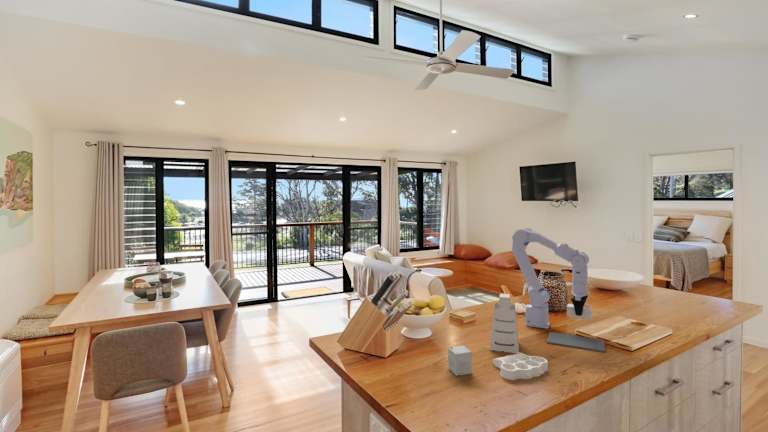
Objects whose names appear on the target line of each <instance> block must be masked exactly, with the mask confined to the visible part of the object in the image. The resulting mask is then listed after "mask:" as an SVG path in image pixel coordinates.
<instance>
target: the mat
mask: <svg viewBox="0 0 768 432" xmlns="http://www.w3.org/2000/svg"><path fill="white" fill-rule="evenodd" d="M546 344H552V345H557V346H562V347H569V348H575V349H583V350H587V351H588V350H589V351H594V352H602V353H606V347H605V340H604V339H600V338H593V337H587V336H586V337H585V336H582V335H581V336H580V335H572V334H567V333H566V334H565V333H559V332H551V331H549V332H548V335H547V339H546Z"/></svg>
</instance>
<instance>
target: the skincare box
mask: <svg viewBox="0 0 768 432" xmlns="http://www.w3.org/2000/svg"><path fill="white" fill-rule="evenodd" d="M447 355H448V356H447V358H448V359H447V361H448V363H447V364H448V365H447V366H448V368H449V369H450V370H451V371H452V374H454V376H455V377H459V376H458V375H460V376H464V375H471V374H473V352H472V351H471V350H470V349H469V348H467V347H466V346H465V345H456V346H451V347H448V348H447ZM448 368H447V369H448ZM449 369H448V370H449ZM450 370H449V371H450ZM451 371H450V372H451Z"/></svg>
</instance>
